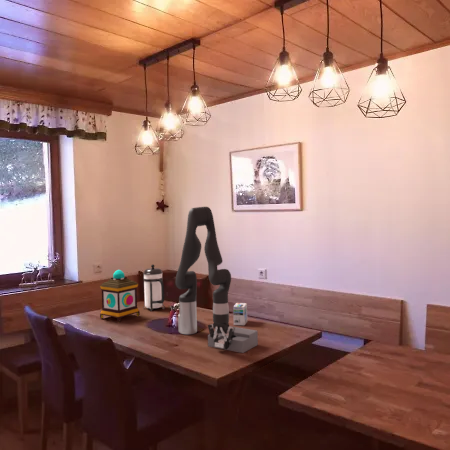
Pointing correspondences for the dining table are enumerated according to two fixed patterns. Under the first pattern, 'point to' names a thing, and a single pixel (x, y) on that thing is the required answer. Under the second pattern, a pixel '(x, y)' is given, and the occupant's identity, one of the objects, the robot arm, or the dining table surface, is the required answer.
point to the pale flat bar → (222, 342)
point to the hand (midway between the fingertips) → (221, 347)
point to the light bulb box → (240, 313)
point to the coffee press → (153, 288)
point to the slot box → (239, 340)
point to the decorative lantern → (119, 296)
